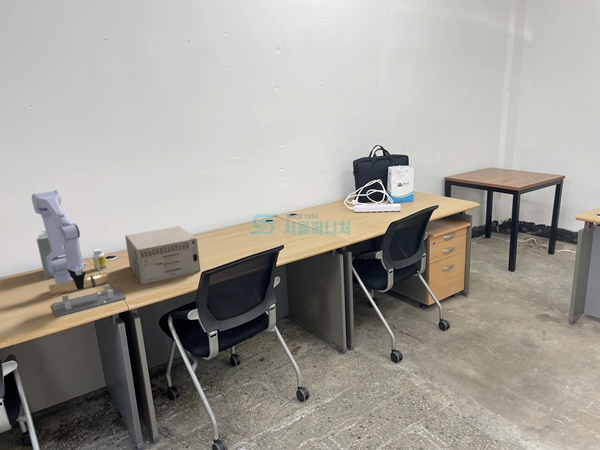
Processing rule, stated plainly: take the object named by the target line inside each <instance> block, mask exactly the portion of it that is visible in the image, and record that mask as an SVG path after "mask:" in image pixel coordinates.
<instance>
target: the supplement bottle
mask: <svg viewBox="0 0 600 450" xmlns="http://www.w3.org/2000/svg"><path fill="white" fill-rule="evenodd" d="M106 260H107V259H106V256H105V253H103V249H102V248H97V249H96V248H95V249H94V250H93V255H92V261H93V265H94V270H95V271H103V270H106V269H107V267H108V266H107V262H106Z"/></svg>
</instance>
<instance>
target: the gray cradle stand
mask: <svg viewBox="0 0 600 450" xmlns="http://www.w3.org/2000/svg"><path fill="white" fill-rule="evenodd" d="M103 288H104V289H103V290H102V291H98V292H94V293H93V292H92V293H90V294H86V295H81V296H77V297H73V298H70V299H69V294H65V295H61V297H62V300H61V301H57V302H54V303H52V304H51V306H52V309H53V312H54V316H55V318H58V317H59V316H60V317H63V316H68V315H70V314H74V313H77V312H78V313H79V312H81V311H85V310H89V309H93V308H97V307H99V306H104V305H109V304H112V303H115V302H119V301H124V300H127V297H126V296H125V294H124V293H123V292H122V290H121V289H120V288H119V287H118V286H117V287H113V288H110V284H109V283H108V284H107V285H103ZM60 317H59V318H60Z"/></svg>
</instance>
